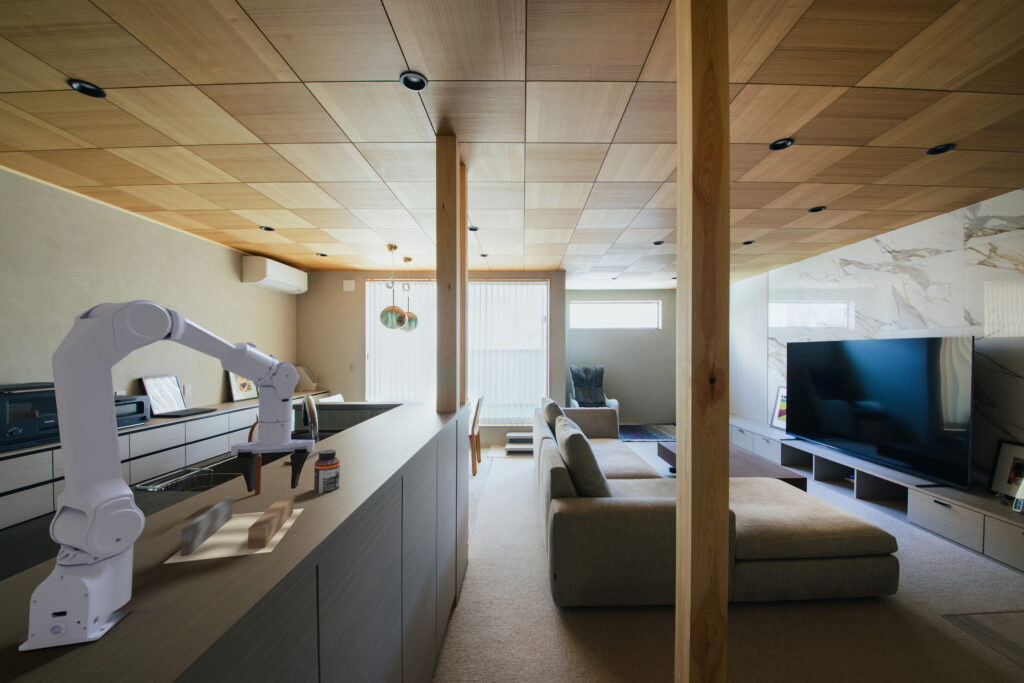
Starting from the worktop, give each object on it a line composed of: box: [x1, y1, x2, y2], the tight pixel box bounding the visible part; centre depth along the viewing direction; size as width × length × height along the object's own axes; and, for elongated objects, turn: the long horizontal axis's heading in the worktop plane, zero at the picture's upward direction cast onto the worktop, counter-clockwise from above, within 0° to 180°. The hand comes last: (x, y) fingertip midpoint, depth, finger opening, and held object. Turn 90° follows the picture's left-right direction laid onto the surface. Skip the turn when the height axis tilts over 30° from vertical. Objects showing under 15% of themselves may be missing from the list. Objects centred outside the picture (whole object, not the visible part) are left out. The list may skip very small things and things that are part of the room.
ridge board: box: [163, 496, 304, 565], centre depth 75 cm, size 20×16×6 cm
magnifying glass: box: [247, 420, 262, 496], centre depth 97 cm, size 9×2×20 cm, turn 5°
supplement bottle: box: [313, 449, 341, 494], centre depth 100 cm, size 6×6×11 cm
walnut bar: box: [248, 495, 295, 549], centre depth 77 cm, size 16×3×4 cm, turn 14°
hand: (273, 488), depth 77 cm, fingers open, 7 cm apart
